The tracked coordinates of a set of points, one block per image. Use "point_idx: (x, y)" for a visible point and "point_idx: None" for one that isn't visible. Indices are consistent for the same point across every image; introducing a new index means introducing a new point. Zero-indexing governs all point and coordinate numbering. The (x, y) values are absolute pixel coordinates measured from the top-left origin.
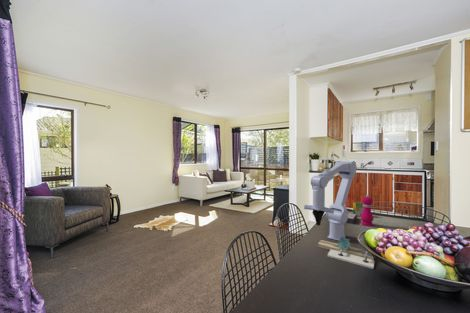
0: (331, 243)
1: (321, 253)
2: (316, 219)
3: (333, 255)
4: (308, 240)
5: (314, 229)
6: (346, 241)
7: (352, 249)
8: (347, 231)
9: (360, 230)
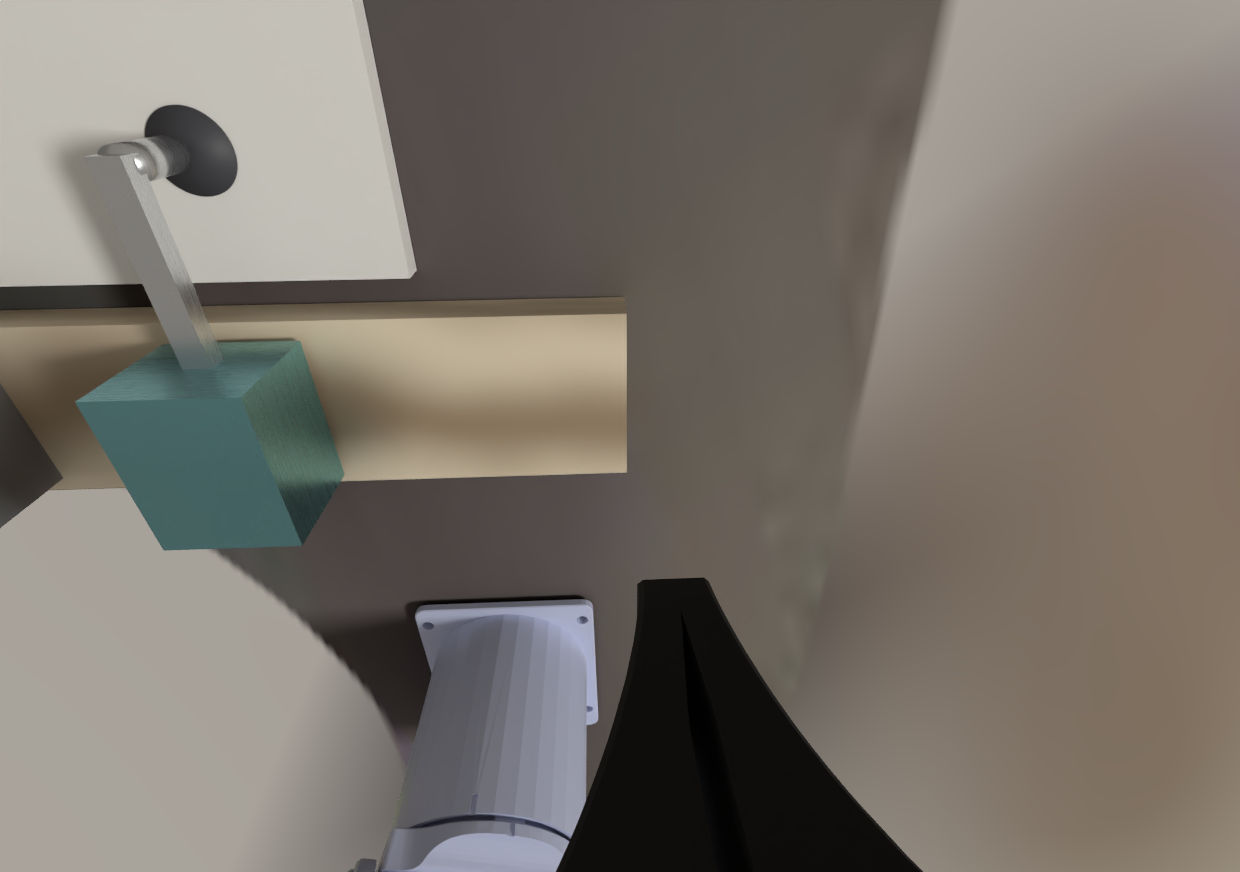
0: (461, 441)
1: (490, 63)
2: (742, 707)
3: (255, 33)
4: (787, 420)
5: None
6: (135, 444)
7: None
8: None
9: None
